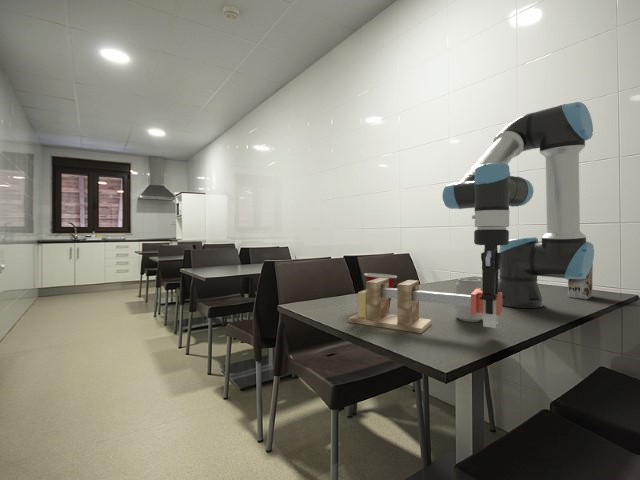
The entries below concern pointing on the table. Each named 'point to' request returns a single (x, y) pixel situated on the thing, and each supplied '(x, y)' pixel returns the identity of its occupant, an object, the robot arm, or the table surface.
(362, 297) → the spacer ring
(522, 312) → the table surface
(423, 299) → the shaft
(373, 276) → the plastic cup
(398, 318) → the bearing stand
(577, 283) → the coffee box
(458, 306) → the can
